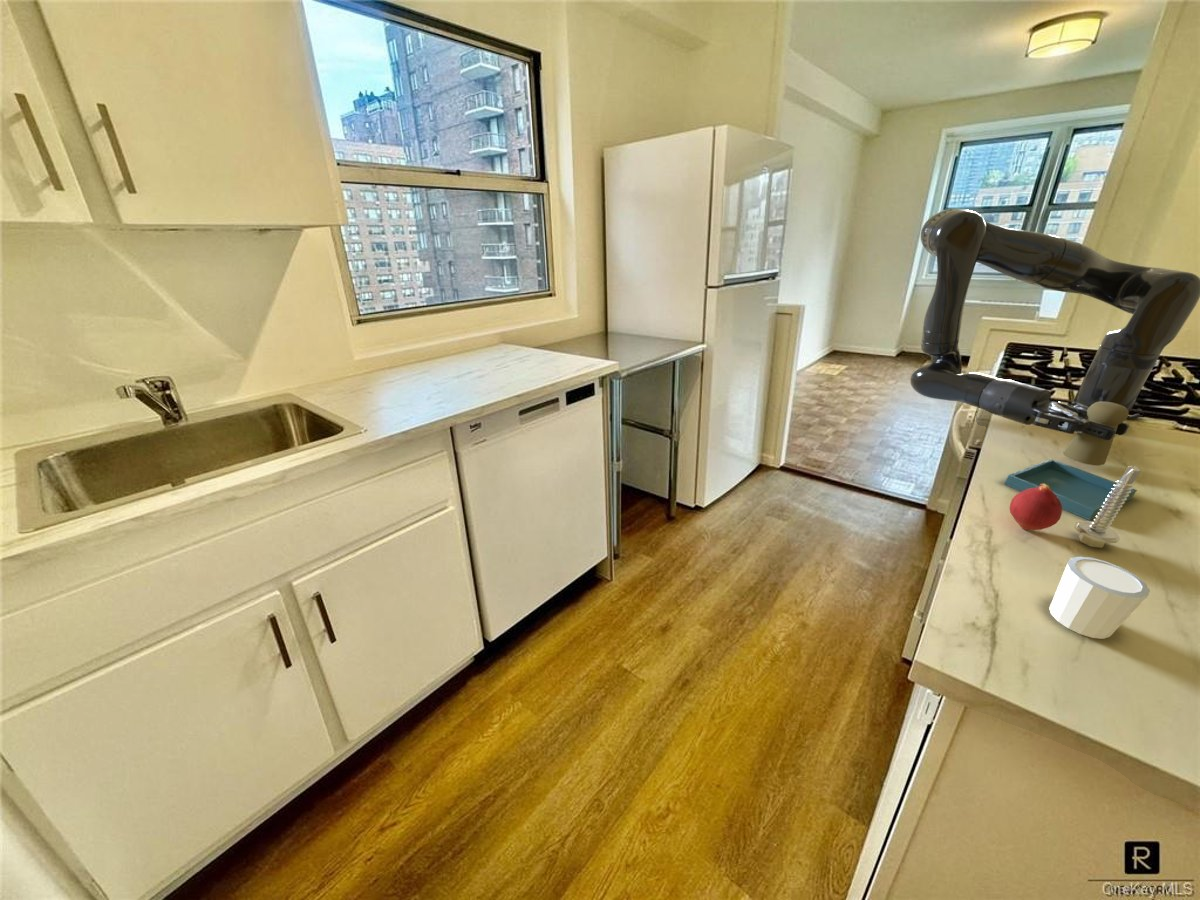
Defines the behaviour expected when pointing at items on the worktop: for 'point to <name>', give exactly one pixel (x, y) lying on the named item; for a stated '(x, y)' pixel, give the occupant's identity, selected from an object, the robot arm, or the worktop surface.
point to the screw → (1107, 513)
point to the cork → (1090, 446)
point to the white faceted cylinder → (1096, 597)
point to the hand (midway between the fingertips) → (1119, 432)
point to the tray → (1067, 486)
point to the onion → (1036, 508)
